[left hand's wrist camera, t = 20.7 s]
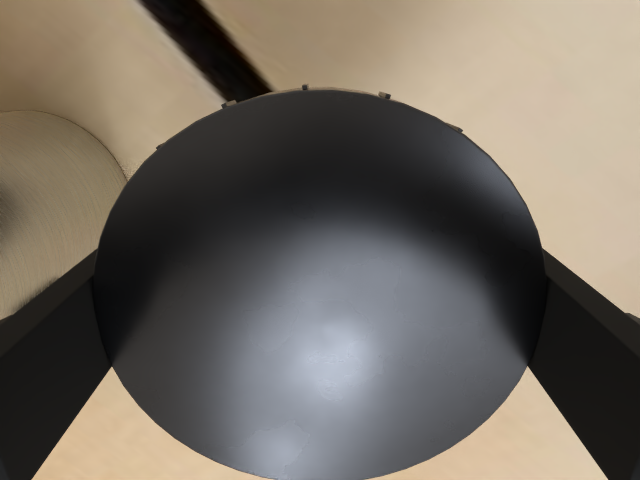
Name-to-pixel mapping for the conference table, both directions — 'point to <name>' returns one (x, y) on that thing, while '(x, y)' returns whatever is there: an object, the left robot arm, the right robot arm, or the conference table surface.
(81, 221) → the jar
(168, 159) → the lid
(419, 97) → the conference table surface
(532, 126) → the conference table surface
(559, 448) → the conference table surface
